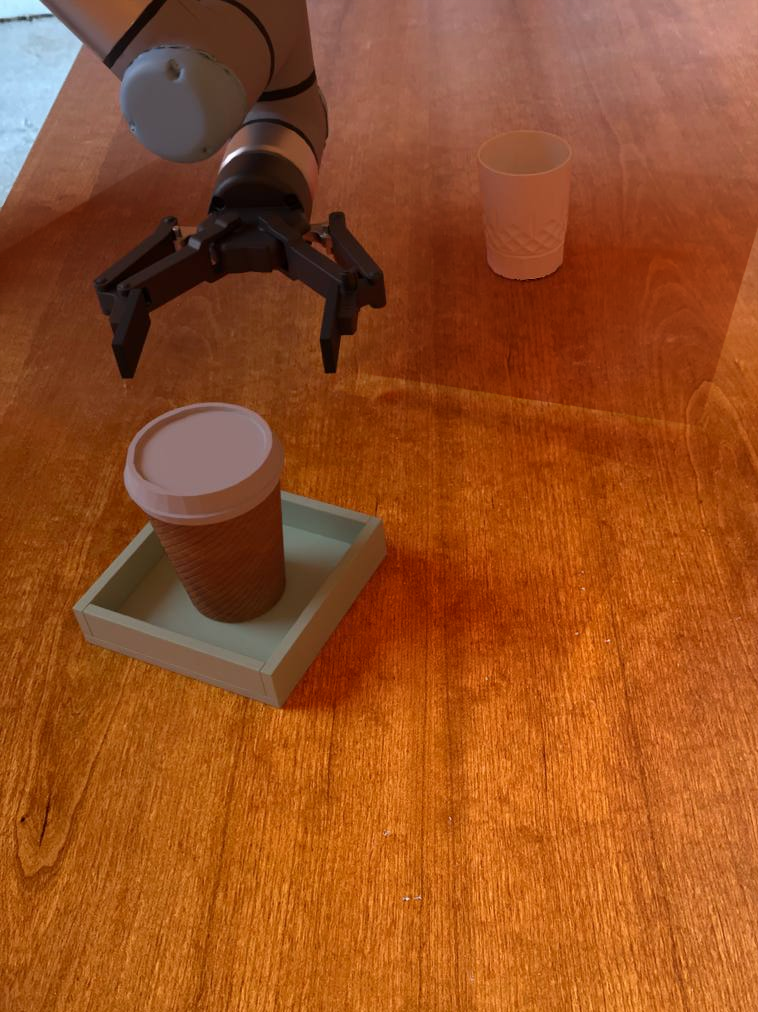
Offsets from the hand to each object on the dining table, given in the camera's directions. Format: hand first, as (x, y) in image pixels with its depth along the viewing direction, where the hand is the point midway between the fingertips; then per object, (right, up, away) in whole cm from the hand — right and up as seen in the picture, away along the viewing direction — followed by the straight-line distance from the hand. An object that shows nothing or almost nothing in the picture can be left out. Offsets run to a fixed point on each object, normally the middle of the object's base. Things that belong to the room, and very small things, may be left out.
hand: (224, 359), depth 77 cm
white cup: (+21, +15, +28) cm, 38 cm away
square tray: (+1, -16, +1) cm, 16 cm away
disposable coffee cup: (+1, -15, +1) cm, 15 cm away
